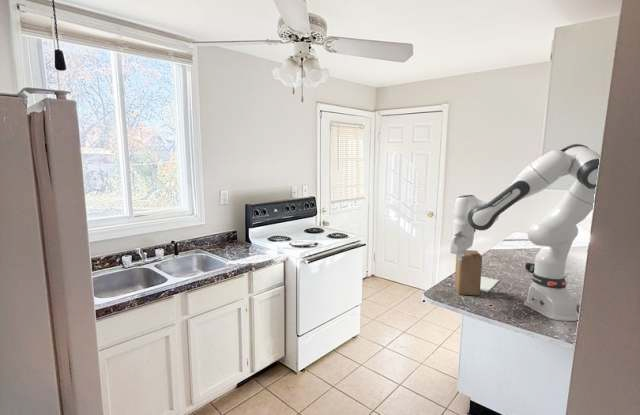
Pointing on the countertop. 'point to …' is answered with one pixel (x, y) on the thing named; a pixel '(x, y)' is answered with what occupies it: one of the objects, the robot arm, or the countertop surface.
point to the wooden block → (468, 273)
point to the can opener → (530, 267)
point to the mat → (487, 284)
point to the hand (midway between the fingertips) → (460, 259)
